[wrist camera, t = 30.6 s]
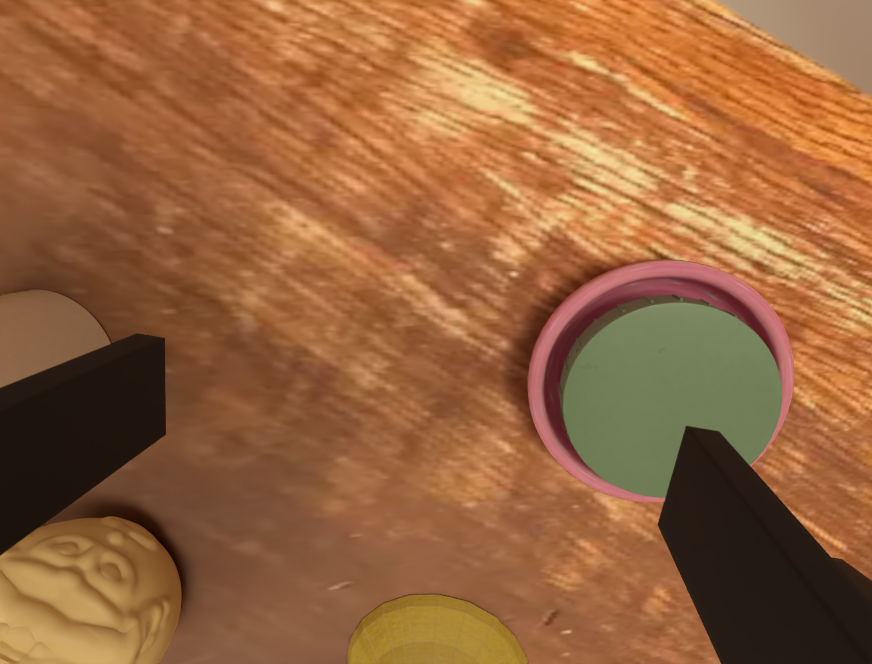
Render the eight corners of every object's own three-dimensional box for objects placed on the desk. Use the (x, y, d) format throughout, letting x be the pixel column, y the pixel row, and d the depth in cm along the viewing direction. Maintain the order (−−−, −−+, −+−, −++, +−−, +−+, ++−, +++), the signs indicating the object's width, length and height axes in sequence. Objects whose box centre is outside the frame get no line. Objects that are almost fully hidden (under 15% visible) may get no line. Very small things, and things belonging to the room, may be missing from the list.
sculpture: (232, 540, 35) (116, 685, 25) (174, 664, 38) (50, 838, 28) (77, 458, 35) (-104, 568, 25) (33, 589, 38) (-144, 735, 28)
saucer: (782, 253, 26) (818, 260, 23) (751, 479, 29) (779, 511, 26) (528, 255, 28) (531, 262, 25) (523, 469, 31) (525, 498, 28)
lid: (583, 277, 25) (588, 283, 23) (793, 314, 24) (815, 323, 22) (540, 458, 27) (542, 475, 26) (729, 497, 27) (745, 518, 25)
